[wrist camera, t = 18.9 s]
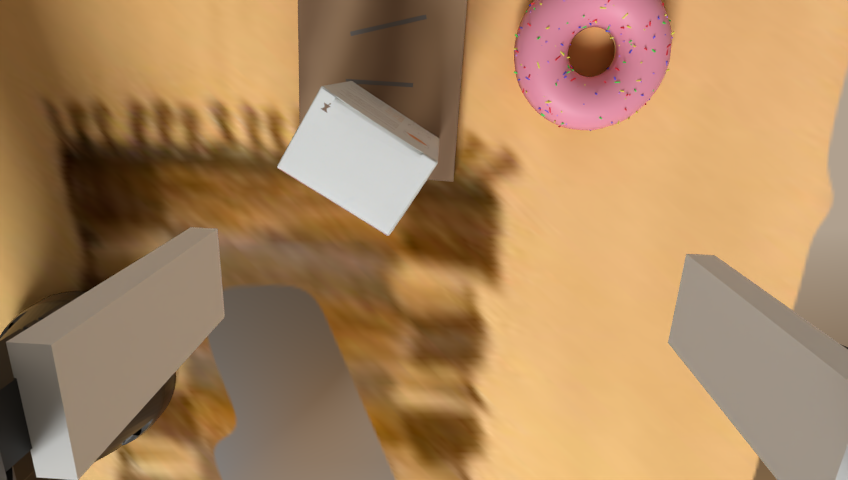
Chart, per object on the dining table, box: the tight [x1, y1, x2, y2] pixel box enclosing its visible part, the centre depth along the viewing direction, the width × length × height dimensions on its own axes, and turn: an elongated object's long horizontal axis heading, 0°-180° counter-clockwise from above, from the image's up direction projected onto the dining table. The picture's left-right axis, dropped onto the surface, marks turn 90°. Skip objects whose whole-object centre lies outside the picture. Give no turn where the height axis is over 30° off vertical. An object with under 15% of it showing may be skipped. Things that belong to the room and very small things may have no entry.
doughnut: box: [514, 0, 675, 131], centre depth 38 cm, size 11×11×4 cm
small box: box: [277, 81, 439, 236], centre depth 36 cm, size 8×6×10 cm
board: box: [298, 0, 467, 181], centre depth 39 cm, size 12×20×2 cm, turn 177°
